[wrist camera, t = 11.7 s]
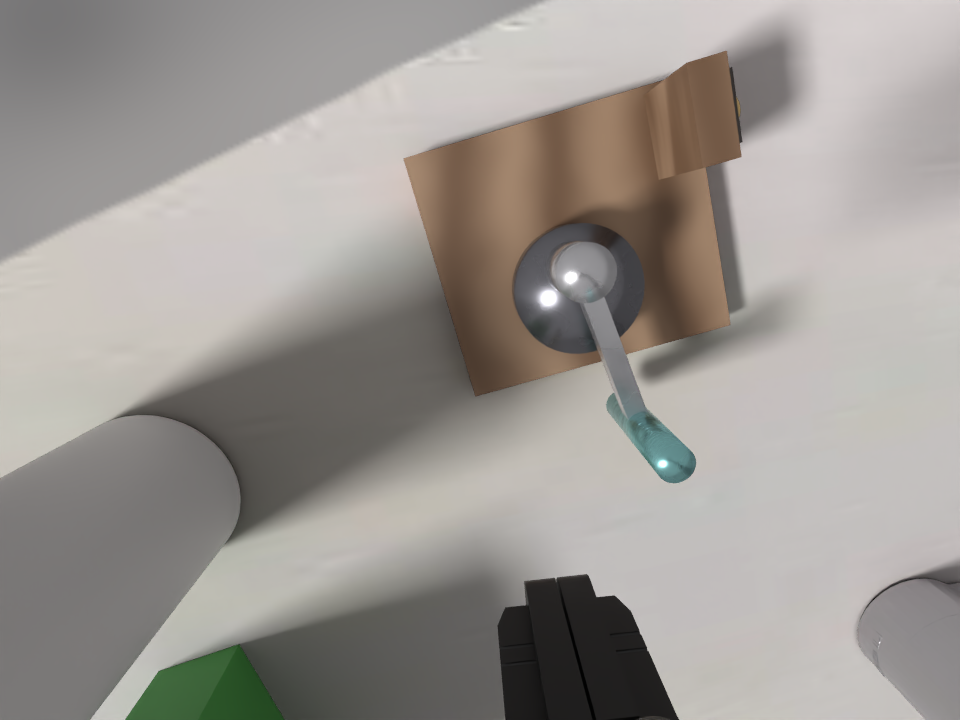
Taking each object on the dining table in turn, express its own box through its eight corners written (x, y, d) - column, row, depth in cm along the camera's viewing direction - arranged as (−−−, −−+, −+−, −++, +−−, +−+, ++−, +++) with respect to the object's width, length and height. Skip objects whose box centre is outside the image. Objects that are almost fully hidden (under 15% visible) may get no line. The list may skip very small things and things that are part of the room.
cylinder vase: (55, 525, 38) (-649, 1033, 14) (100, 383, 36) (-673, 708, 11) (214, 582, 40) (-169, 1123, 16) (268, 451, 37) (-94, 859, 13)
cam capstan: (492, 255, 32) (505, 265, 22) (609, 202, 31) (674, 189, 22) (568, 434, 35) (608, 511, 25) (675, 389, 35) (757, 451, 25)
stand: (684, 79, 32) (755, 30, 24) (723, 317, 36) (794, 341, 28) (407, 162, 33) (389, 141, 25) (474, 387, 36) (477, 429, 29)
